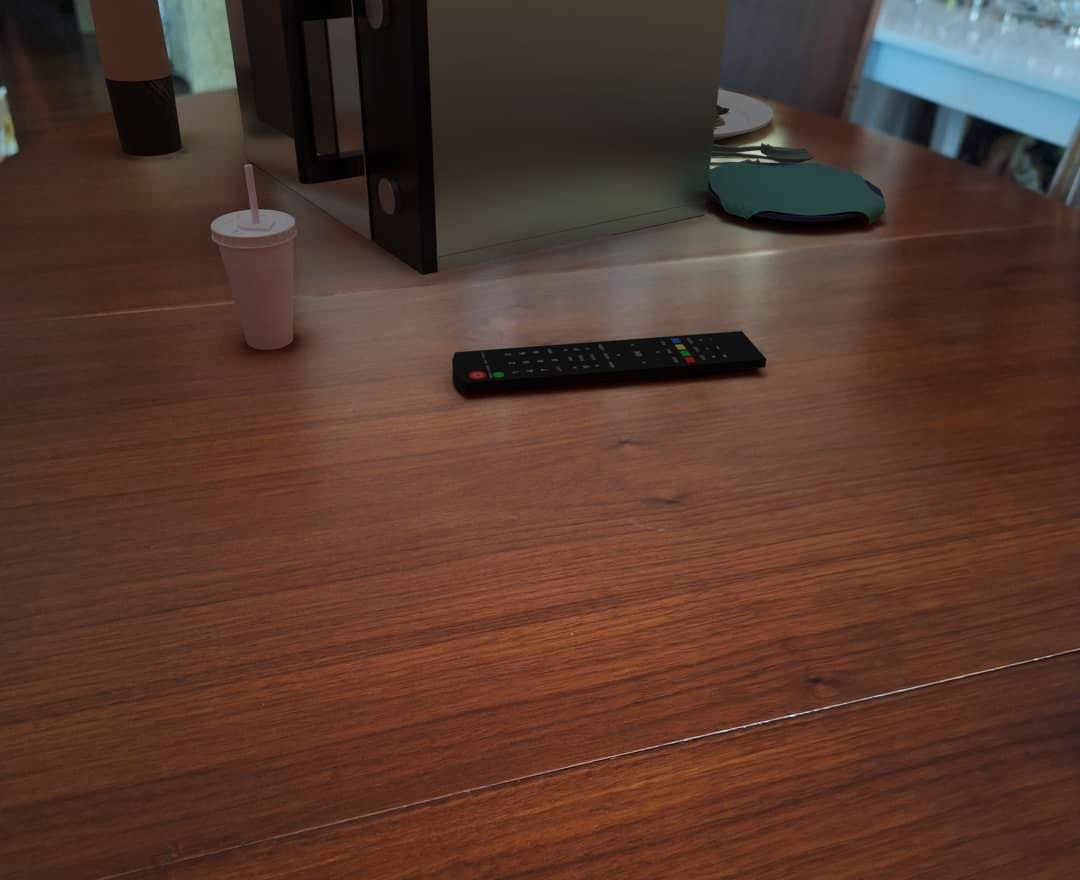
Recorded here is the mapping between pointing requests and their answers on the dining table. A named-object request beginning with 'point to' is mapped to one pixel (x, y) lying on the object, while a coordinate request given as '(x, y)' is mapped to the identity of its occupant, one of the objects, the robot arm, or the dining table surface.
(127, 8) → the travel mug
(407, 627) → the dining table surface
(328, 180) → the microwave door
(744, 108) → the plated food
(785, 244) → the dining table surface
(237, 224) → the smoothie
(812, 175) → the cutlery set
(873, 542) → the dining table surface
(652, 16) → the microwave
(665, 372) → the remote control
